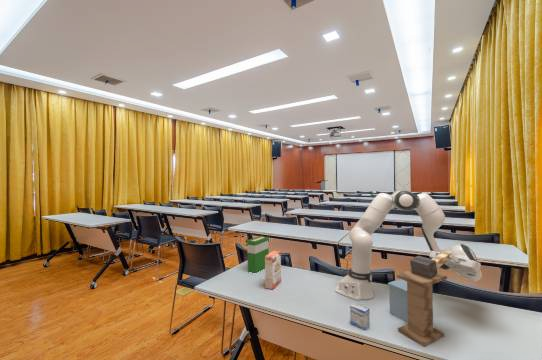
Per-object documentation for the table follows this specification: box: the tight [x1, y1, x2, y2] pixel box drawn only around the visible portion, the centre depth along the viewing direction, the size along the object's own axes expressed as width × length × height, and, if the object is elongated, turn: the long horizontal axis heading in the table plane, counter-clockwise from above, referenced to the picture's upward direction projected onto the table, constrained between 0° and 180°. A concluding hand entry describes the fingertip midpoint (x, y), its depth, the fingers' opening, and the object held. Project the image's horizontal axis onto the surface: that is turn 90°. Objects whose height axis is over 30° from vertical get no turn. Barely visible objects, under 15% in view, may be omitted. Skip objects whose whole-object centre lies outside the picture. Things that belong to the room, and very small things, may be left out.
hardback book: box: [246, 235, 270, 274], centre depth 197 cm, size 18×7×24 cm, turn 147°
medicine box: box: [349, 302, 371, 331], centre depth 120 cm, size 8×4×9 cm, turn 44°
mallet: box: [409, 251, 452, 279], centre depth 117 cm, size 23×8×6 cm, turn 117°
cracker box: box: [264, 250, 282, 290], centre depth 168 cm, size 14×6×21 cm, turn 156°
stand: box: [396, 269, 448, 348], centre depth 113 cm, size 17×12×26 cm
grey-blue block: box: [387, 278, 408, 324], centre depth 129 cm, size 17×11×16 cm, turn 117°
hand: (444, 254), depth 121 cm, fingers closed on mallet, 3 cm apart
